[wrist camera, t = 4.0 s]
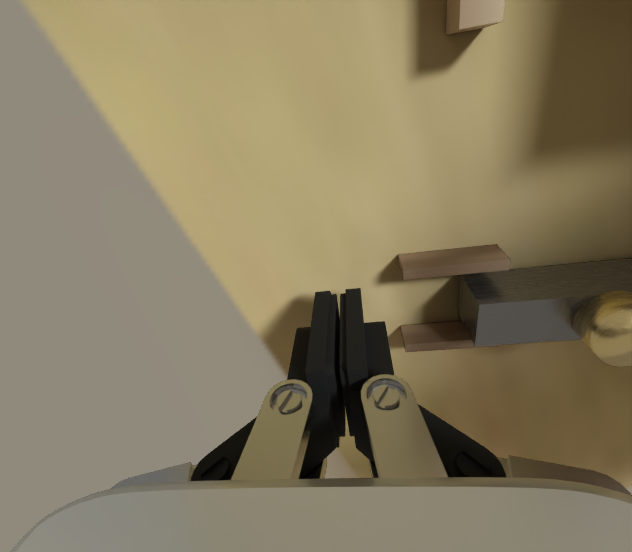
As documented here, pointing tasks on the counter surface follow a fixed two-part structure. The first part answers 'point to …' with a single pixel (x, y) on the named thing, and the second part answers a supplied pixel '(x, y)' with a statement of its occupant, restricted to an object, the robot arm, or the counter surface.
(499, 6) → the bolt guide rails
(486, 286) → the bar
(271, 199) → the counter surface
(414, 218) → the counter surface
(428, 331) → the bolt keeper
